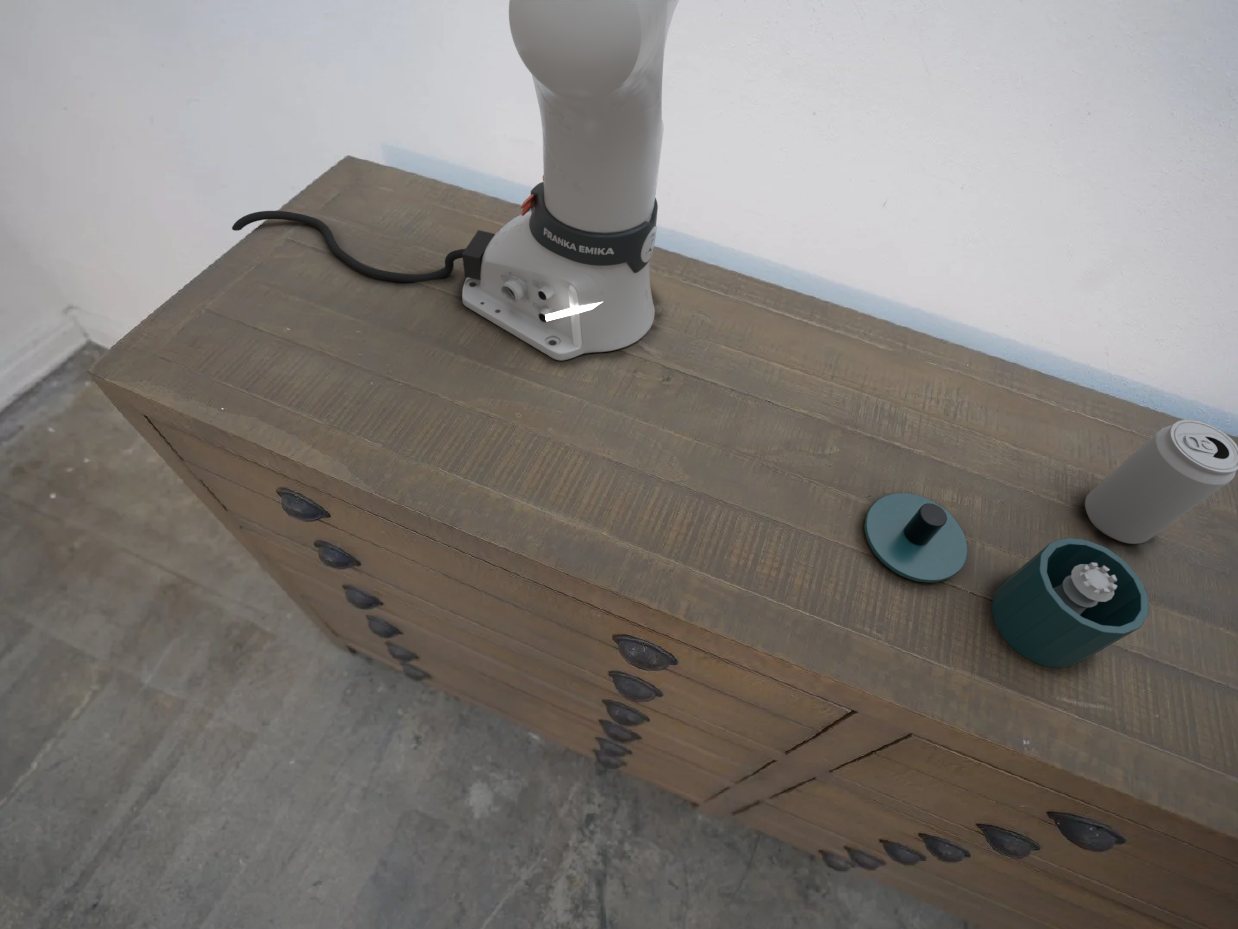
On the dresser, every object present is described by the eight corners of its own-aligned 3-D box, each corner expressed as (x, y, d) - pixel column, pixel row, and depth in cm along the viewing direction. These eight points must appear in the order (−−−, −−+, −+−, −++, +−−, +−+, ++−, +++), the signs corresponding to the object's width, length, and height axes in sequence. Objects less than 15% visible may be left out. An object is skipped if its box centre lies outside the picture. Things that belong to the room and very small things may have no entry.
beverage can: (1155, 554, 64) (1261, 482, 55) (1086, 539, 65) (1179, 465, 55) (1139, 500, 68) (1235, 423, 58) (1074, 486, 68) (1158, 408, 59)
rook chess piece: (1063, 601, 60) (1123, 558, 54) (1072, 648, 57) (1137, 609, 51) (1011, 590, 60) (1065, 546, 54) (1019, 637, 58) (1076, 596, 51)
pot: (986, 642, 58) (1036, 604, 52) (997, 565, 62) (1043, 523, 56) (1086, 684, 56) (1149, 651, 50) (1089, 603, 61) (1148, 563, 55)
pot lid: (852, 559, 62) (870, 534, 58) (873, 485, 67) (891, 457, 63) (954, 602, 60) (980, 578, 56) (968, 522, 65) (992, 495, 61)
